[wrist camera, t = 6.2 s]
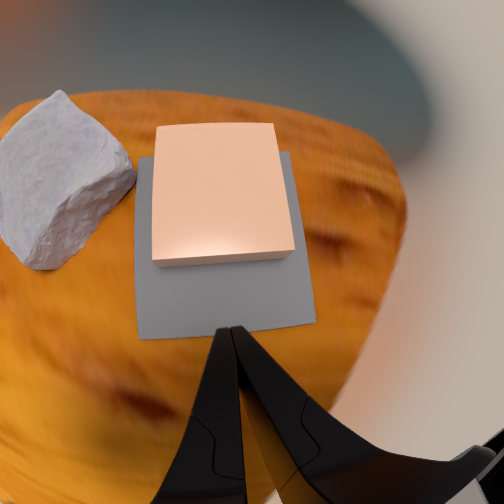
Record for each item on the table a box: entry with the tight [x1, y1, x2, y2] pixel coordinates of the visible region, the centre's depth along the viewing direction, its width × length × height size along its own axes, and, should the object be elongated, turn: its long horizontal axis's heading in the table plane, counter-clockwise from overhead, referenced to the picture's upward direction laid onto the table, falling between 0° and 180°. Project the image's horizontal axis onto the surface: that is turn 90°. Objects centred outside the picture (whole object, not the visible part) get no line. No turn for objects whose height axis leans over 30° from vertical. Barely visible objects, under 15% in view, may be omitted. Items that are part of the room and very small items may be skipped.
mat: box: [134, 152, 316, 340], centre depth 16 cm, size 11×10×1 cm
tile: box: [152, 123, 295, 268], centre depth 15 cm, size 2×7×8 cm
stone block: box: [0, 90, 136, 271], centre depth 14 cm, size 12×5×10 cm
